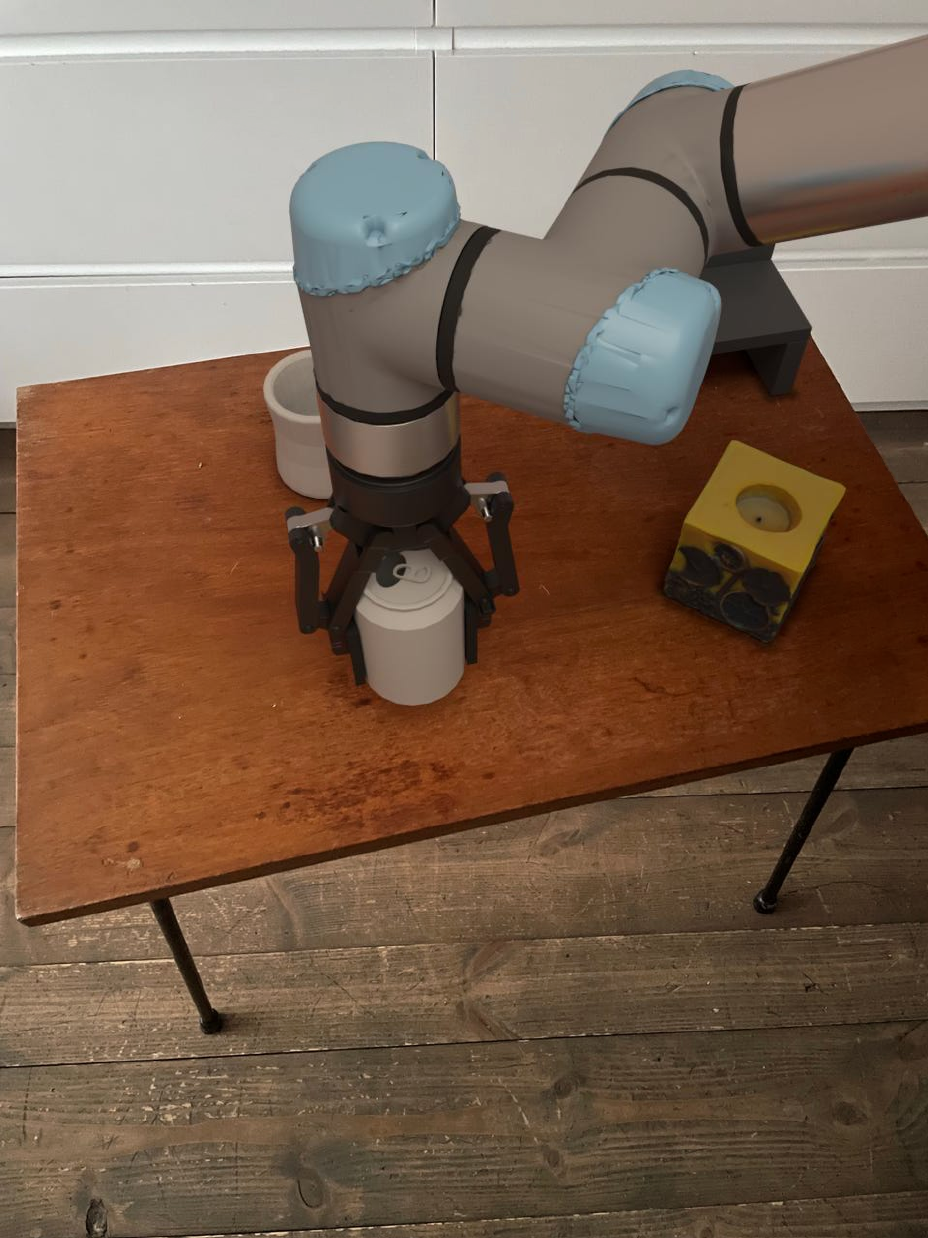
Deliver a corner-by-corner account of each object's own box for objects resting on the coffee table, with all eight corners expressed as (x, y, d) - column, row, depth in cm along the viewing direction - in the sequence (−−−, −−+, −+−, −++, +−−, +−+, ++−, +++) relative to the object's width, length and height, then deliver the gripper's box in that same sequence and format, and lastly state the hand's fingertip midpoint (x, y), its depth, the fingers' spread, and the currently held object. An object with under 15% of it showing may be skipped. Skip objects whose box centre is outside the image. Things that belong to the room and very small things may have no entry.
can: (384, 615, 81) (371, 511, 71) (478, 639, 79) (478, 537, 69) (348, 696, 76) (328, 598, 67) (447, 723, 75) (442, 627, 65)
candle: (706, 515, 93) (730, 434, 85) (816, 562, 90) (851, 483, 82) (657, 595, 88) (677, 518, 80) (771, 648, 85) (804, 573, 77)
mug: (365, 510, 94) (356, 429, 85) (266, 496, 95) (247, 414, 86) (395, 412, 101) (389, 328, 92) (302, 400, 101) (288, 316, 93)
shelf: (749, 319, 108) (777, 215, 98) (790, 393, 102) (825, 290, 92) (559, 347, 106) (570, 243, 96) (590, 424, 100) (604, 322, 90)
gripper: (554, 359, 61) (536, 593, 80) (201, 415, 59) (268, 643, 78) (590, 451, 57) (562, 676, 76) (211, 515, 55) (279, 730, 74)
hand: (413, 659), depth 77 cm, fingers closed on can, 7 cm apart
